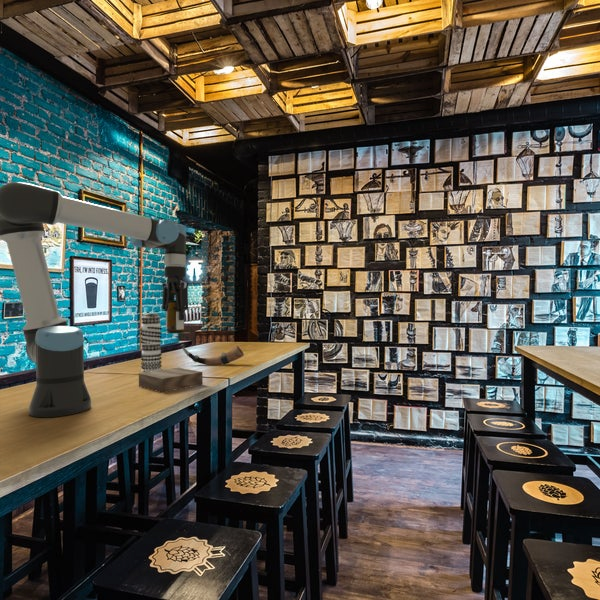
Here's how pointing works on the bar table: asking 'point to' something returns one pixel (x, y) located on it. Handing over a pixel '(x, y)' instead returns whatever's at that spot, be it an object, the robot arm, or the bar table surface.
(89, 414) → the bar table surface
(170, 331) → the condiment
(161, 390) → the block
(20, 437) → the bar table surface
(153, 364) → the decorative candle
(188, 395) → the bar table surface
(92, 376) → the bar table surface
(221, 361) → the drinking horn
